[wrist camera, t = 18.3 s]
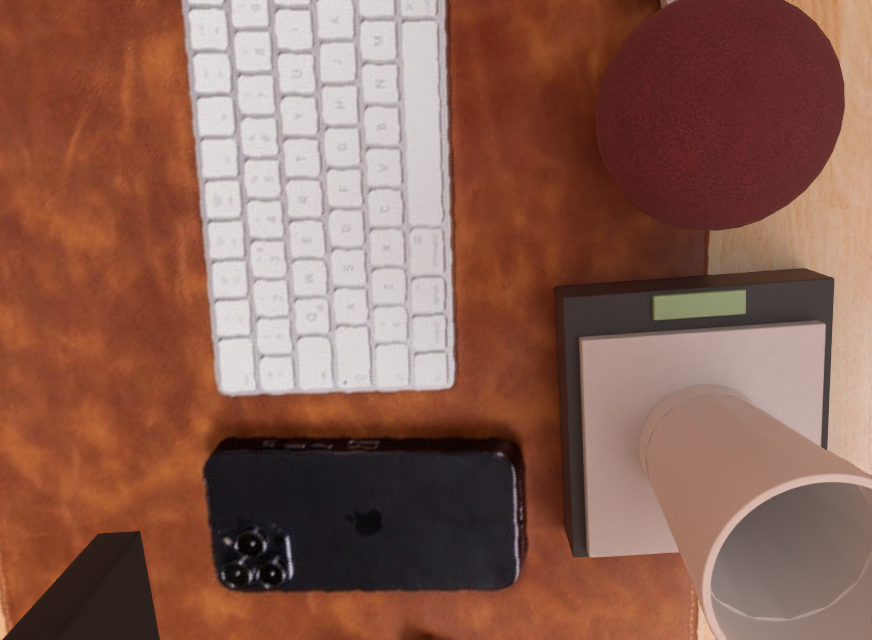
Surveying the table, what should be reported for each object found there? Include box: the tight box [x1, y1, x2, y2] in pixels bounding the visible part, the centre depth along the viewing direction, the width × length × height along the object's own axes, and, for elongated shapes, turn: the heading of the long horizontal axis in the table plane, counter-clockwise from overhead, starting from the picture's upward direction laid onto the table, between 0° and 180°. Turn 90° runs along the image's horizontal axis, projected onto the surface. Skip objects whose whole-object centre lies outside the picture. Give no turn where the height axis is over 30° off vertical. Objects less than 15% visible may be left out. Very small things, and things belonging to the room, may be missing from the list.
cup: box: [639, 384, 872, 640], centre depth 31 cm, size 8×8×12 cm
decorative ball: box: [595, 0, 845, 231], centre depth 32 cm, size 10×10×10 cm
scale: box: [554, 268, 834, 558], centre depth 39 cm, size 13×14×4 cm
